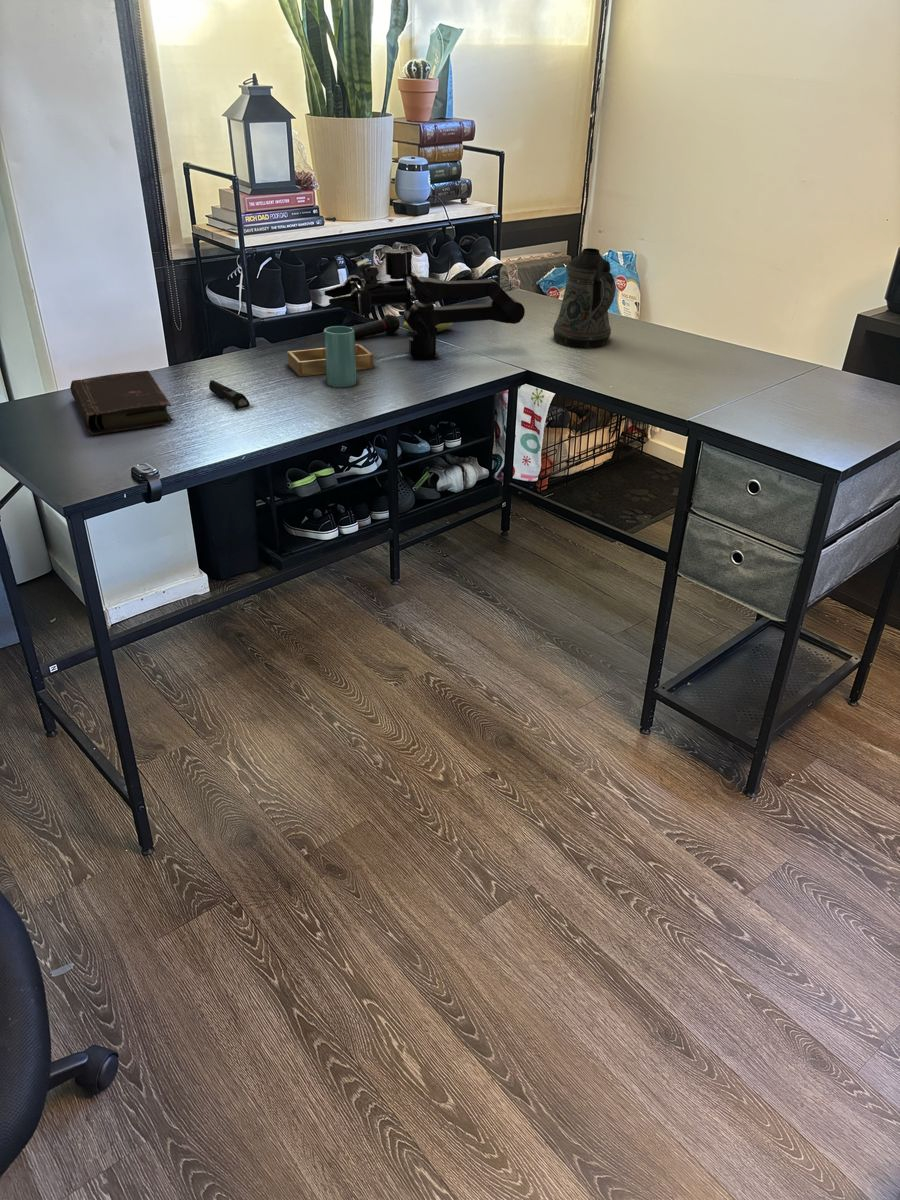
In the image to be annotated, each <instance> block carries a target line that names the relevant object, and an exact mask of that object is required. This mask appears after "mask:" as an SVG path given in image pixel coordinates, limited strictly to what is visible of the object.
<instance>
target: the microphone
mask: <svg viewBox="0 0 900 1200" xmlns="http://www.w3.org/2000/svg"><path fill="white" fill-rule="evenodd" d="M400 326H401V323H400V320H399V318H398V317H397V316H396V315H393V314H390V313H387V314H385V315H384V316H383V319H382V320H377V321H374V322H372V323H370V324H366V325H364V326H361V327H358V328H354V334H355V340H356V339H357V340H358V339H361V338H366V337H372V336H376V335H380V334H384V333H386V334H389V335H390V336H391V335H394V334H395V333H396V332H398V330H399V329H400Z"/></svg>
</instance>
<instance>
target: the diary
mask: <svg viewBox="0 0 900 1200" xmlns="http://www.w3.org/2000/svg"><path fill="white" fill-rule="evenodd" d="M69 389H70V393H71V396H72V397H73V399H74V401H75V404H76V407H77V409H78V412H79V414H80V415H81V417H82V419H83V422H84V425H85V429H86V430H87V431H88V432H89V434H90V435H92V436H94V435H100V434H107V433H108V434H109V433H116V432H121V431H128V430H136V429H142V428H148V427H149V428H151V427H155V426H159V425H164V424H169V423H172V422H174V418H172V417H171V416H170V413H168V409H167V407H172V404H171V402H170V401H169V400H168V398H167V397H166V395H165V394H164V391H162V390H161V388H160V387H159V385H158V383H157V382H156V380H155V378H154V377H153V375H152V374H151V373H150V371H149V370H138V371H129V372H120V373H112V374H105V375H100V376H99V375H98V376H93V377H88V378H87V377H86V378H83V379H73V380H72V381H71V383H70V387H69Z"/></svg>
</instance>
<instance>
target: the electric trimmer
mask: <svg viewBox="0 0 900 1200" xmlns="http://www.w3.org/2000/svg"><path fill="white" fill-rule="evenodd" d="M208 384H209V385H208V389H209V390H210V392H212V393H213V395H215V396H216V397H217V398H218V399H221V400H226V401H228V402H229V403H230V404H232V405H233V407H234V409H235V410H245V409H249V408H250V406H251V403H250V401H249V399H248V398H247V397H246V396H245V394H243V393H242V392H238V391H236V390H234V389H232V388H231V387H228V386H226V385H223V384H222V383H220V382H218V381H216V380H213V379H211V380H209V383H208Z"/></svg>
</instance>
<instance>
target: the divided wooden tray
mask: <svg viewBox="0 0 900 1200" xmlns="http://www.w3.org/2000/svg"><path fill="white" fill-rule="evenodd" d="M355 359H356V371H360V370H367V369H374V354H373V353H372V352H371V351H369V350H368V349H367V348H365V347H364V346H363V345H362V344H360V343H355ZM287 361H288V362H287V364H288V367H290V368H291V369H292V370H293V371H294V373H295V374H296V375H297V376H298V377H307V376H317V375H325V374H326V359H325V347H320V348H319V347H318V348H308V349H301V350H300V349H299V350H289V351H287Z"/></svg>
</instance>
